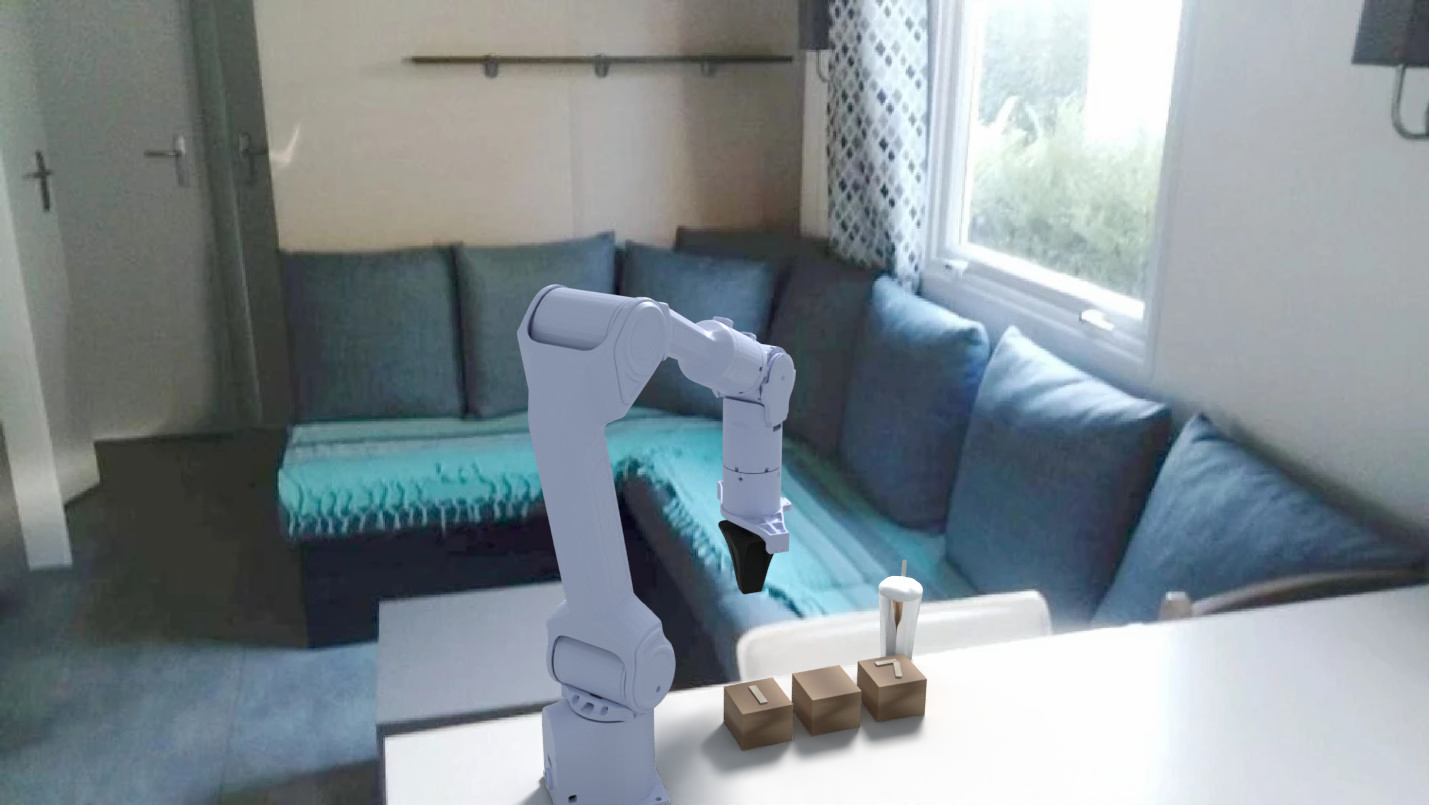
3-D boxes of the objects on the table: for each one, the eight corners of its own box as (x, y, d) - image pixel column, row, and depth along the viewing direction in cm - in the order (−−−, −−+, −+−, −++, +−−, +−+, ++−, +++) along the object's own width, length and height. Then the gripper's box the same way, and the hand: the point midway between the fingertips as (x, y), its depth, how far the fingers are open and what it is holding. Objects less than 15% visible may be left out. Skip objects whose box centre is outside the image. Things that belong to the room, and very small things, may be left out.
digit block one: (742, 752, 105) (742, 712, 104) (723, 723, 110) (723, 685, 109) (792, 742, 107) (793, 702, 106) (771, 713, 111) (772, 675, 110)
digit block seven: (877, 723, 110) (879, 685, 109) (856, 696, 114) (857, 659, 113) (924, 715, 111) (927, 677, 110) (901, 688, 116) (903, 652, 115)
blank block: (811, 737, 108) (812, 700, 106) (791, 709, 112) (792, 673, 111) (859, 728, 109) (861, 691, 108) (838, 700, 114) (839, 665, 112)
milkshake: (921, 647, 124) (926, 562, 120) (915, 672, 119) (921, 584, 116) (878, 641, 125) (883, 557, 122) (871, 665, 120) (876, 578, 117)
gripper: (820, 484, 106) (816, 616, 110) (762, 435, 119) (760, 555, 123) (749, 493, 104) (747, 628, 108) (698, 443, 117) (698, 564, 121)
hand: (750, 590), depth 115 cm, fingers closed
